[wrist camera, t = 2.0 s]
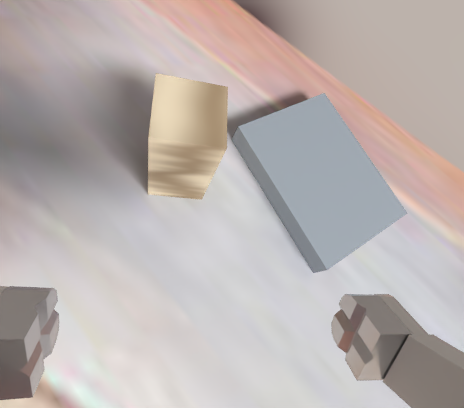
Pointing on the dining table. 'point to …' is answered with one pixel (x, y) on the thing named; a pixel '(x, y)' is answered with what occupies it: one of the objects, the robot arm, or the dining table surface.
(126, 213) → the dining table surface
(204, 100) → the maple block
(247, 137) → the base plate
